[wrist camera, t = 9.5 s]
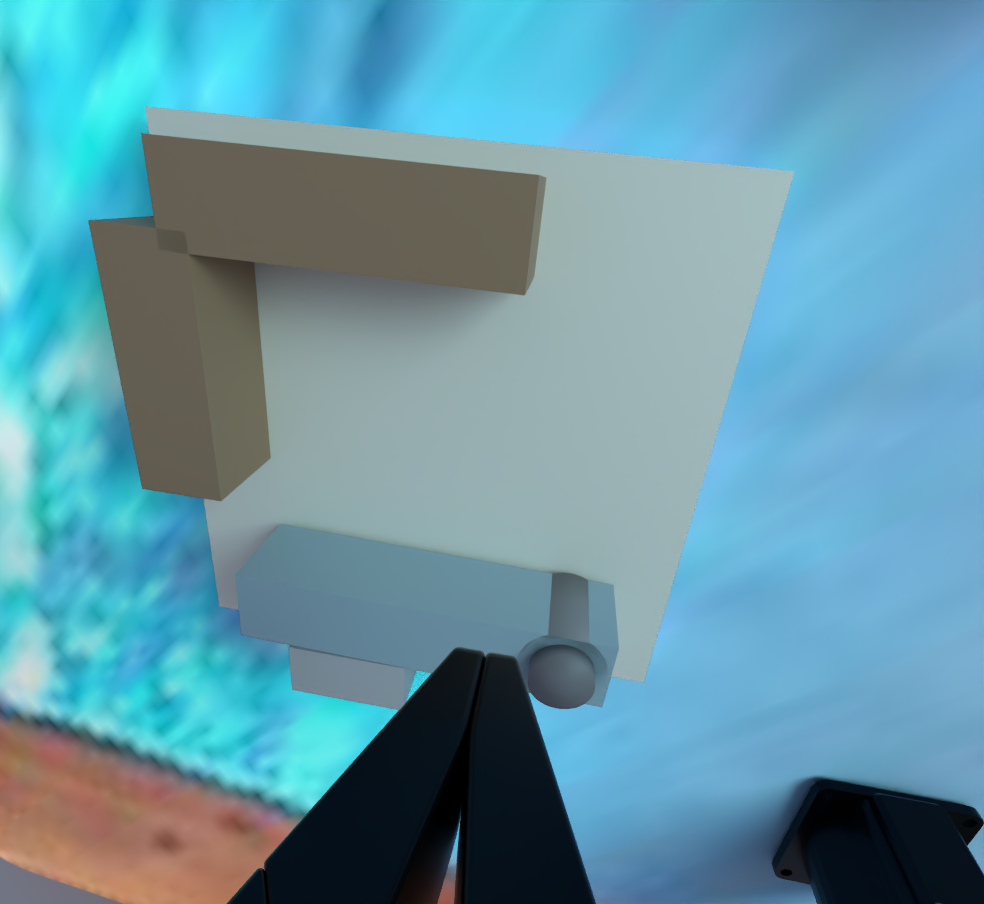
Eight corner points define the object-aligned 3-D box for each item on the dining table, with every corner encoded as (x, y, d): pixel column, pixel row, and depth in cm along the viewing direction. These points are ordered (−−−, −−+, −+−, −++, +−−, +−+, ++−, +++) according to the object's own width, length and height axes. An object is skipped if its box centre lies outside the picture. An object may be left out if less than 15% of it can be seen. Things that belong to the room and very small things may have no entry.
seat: (639, 662, 22) (651, 757, 19) (236, 591, 24) (171, 667, 20) (778, 172, 15) (847, 167, 11) (174, 111, 16) (51, 88, 12)
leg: (614, 581, 19) (621, 660, 16) (598, 642, 20) (601, 726, 17) (280, 520, 20) (223, 583, 17) (284, 582, 21) (231, 651, 18)
